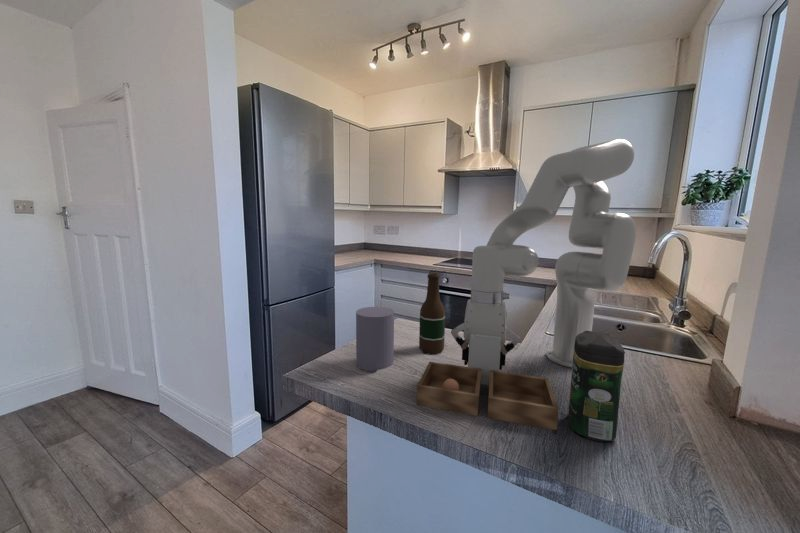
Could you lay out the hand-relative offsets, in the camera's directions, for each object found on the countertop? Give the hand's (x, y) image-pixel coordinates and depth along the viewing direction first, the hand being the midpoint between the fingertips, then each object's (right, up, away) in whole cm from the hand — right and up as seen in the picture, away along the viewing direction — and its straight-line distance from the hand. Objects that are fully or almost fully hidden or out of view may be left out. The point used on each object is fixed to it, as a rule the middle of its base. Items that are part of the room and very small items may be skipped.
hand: (482, 364), depth 80 cm
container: (-28, -3, +9) cm, 29 cm away
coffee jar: (+16, -7, -18) cm, 25 cm away
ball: (-9, -4, -8) cm, 13 cm away
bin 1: (-9, -5, -8) cm, 13 cm away
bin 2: (+4, -6, -12) cm, 14 cm away
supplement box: (0, -4, +1) cm, 4 cm away
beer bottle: (-11, -1, +19) cm, 22 cm away
